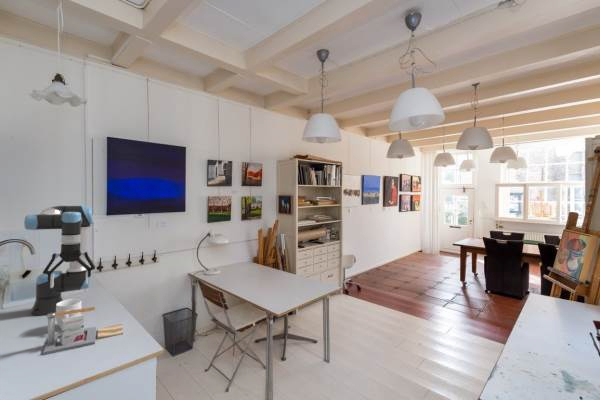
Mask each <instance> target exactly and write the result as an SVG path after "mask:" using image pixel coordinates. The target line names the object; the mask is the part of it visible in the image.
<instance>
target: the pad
mask: <svg viewBox="0 0 600 400" xmlns="http://www.w3.org/2000/svg"><path fill="white" fill-rule="evenodd" d="M120 334H121V335H123V334H124V330H123V324H116V325H110V326H104V327H100V328H97V340H101V339H105V338H110V337H115V336H120Z"/></svg>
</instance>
